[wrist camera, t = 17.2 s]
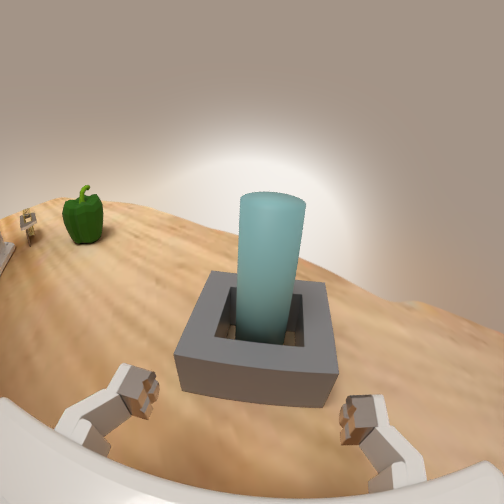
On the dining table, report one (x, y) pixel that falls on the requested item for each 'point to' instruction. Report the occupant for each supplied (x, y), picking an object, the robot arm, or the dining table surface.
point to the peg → (267, 264)
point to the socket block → (258, 350)
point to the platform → (28, 223)
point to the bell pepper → (84, 217)
